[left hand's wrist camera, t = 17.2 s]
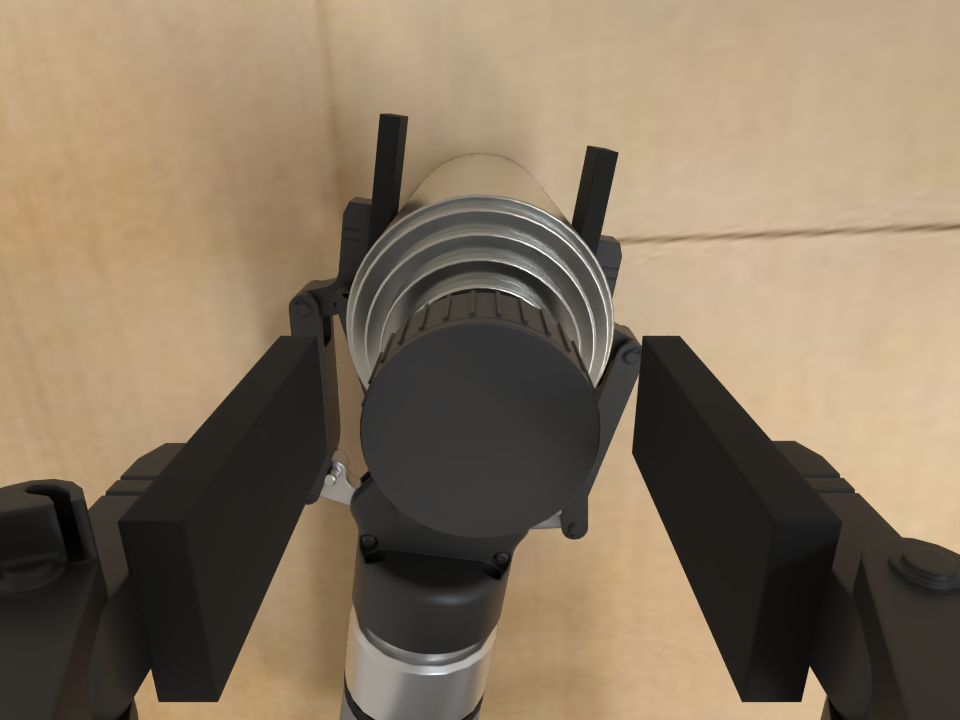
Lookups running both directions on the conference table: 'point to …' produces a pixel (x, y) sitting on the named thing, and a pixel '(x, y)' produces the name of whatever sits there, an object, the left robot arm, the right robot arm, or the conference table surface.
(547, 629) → the conference table surface
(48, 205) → the conference table surface
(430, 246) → the bottle
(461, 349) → the cap
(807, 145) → the conference table surface
